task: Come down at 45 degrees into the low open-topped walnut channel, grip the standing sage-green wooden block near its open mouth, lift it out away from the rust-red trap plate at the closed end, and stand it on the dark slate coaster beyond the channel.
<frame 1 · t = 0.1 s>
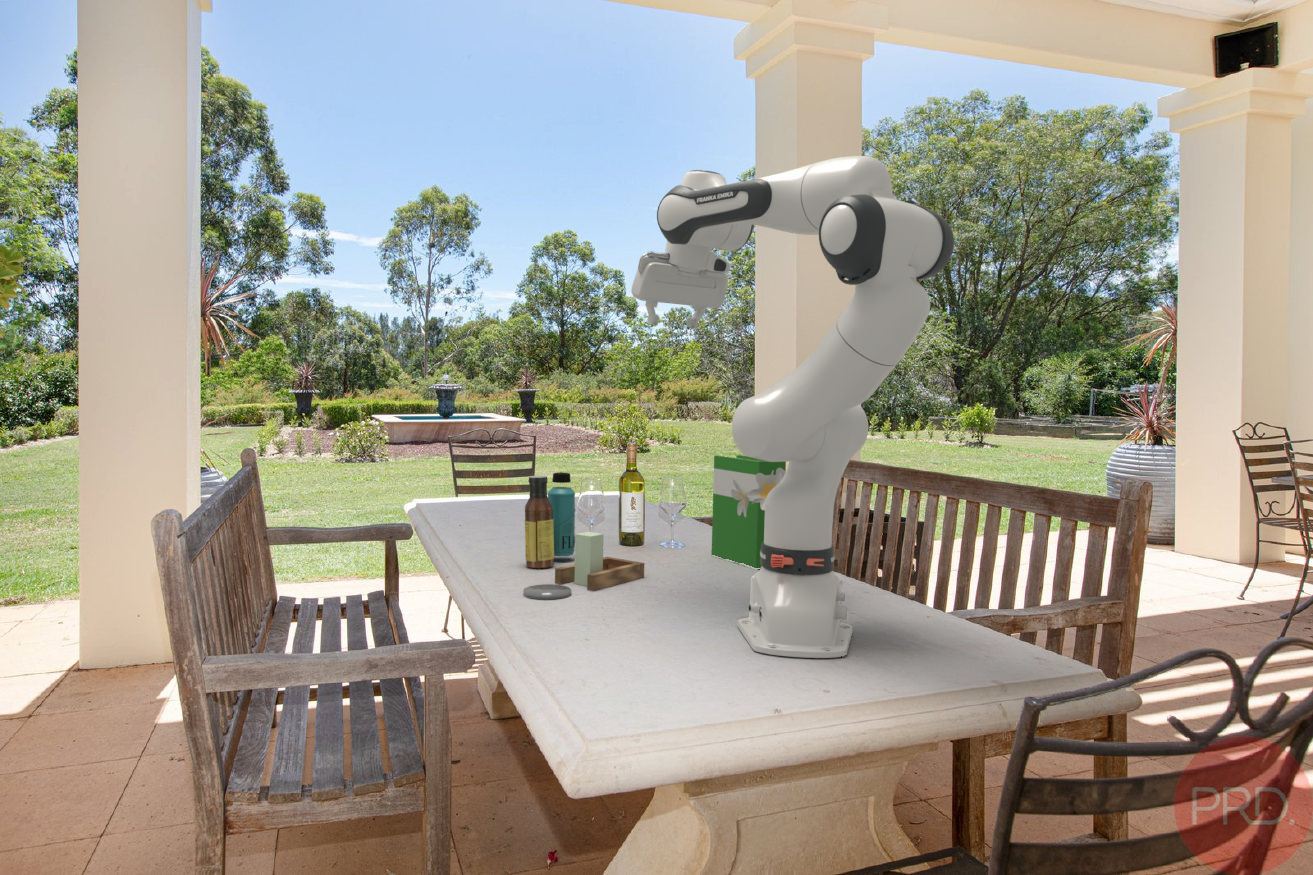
hand: (672, 325, 169), 52 cm above the table, tool tilted 20°, fingers open, 8 cm apart
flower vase: (777, 602, 160), on the table
beverage bottle: (560, 561, 194), on the table
block: (588, 583, 171), on the table
sauce bottle: (538, 567, 186), on the table
coaster: (547, 594, 161), on the table
trap plate: (613, 576, 178), resting in channel
green gift bag: (745, 562, 197), on the table
channel: (598, 580, 174), on the table
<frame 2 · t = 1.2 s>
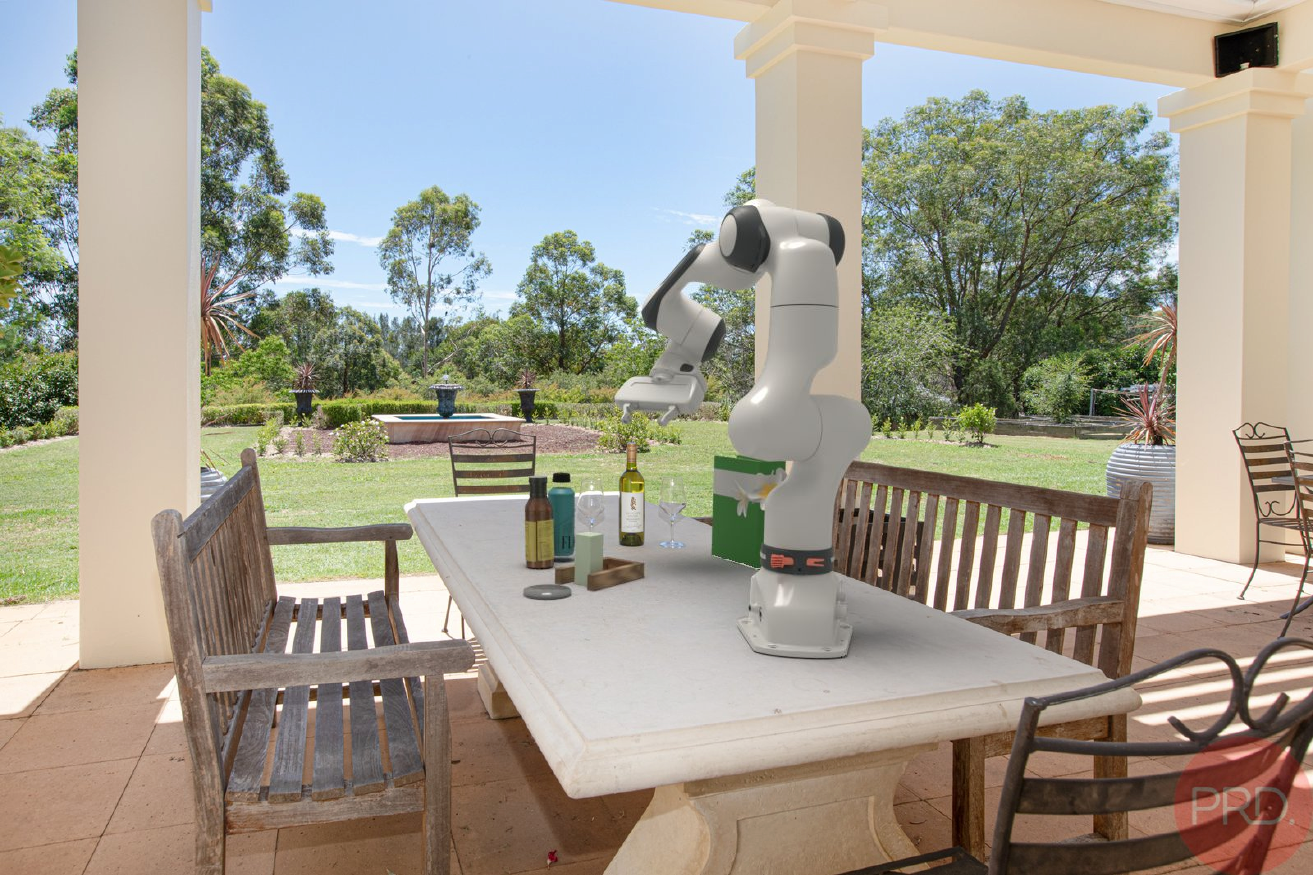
hand: (642, 423, 177), 32 cm above the table, tool tilted 45°, fingers open, 8 cm apart
nothing on the table moved.
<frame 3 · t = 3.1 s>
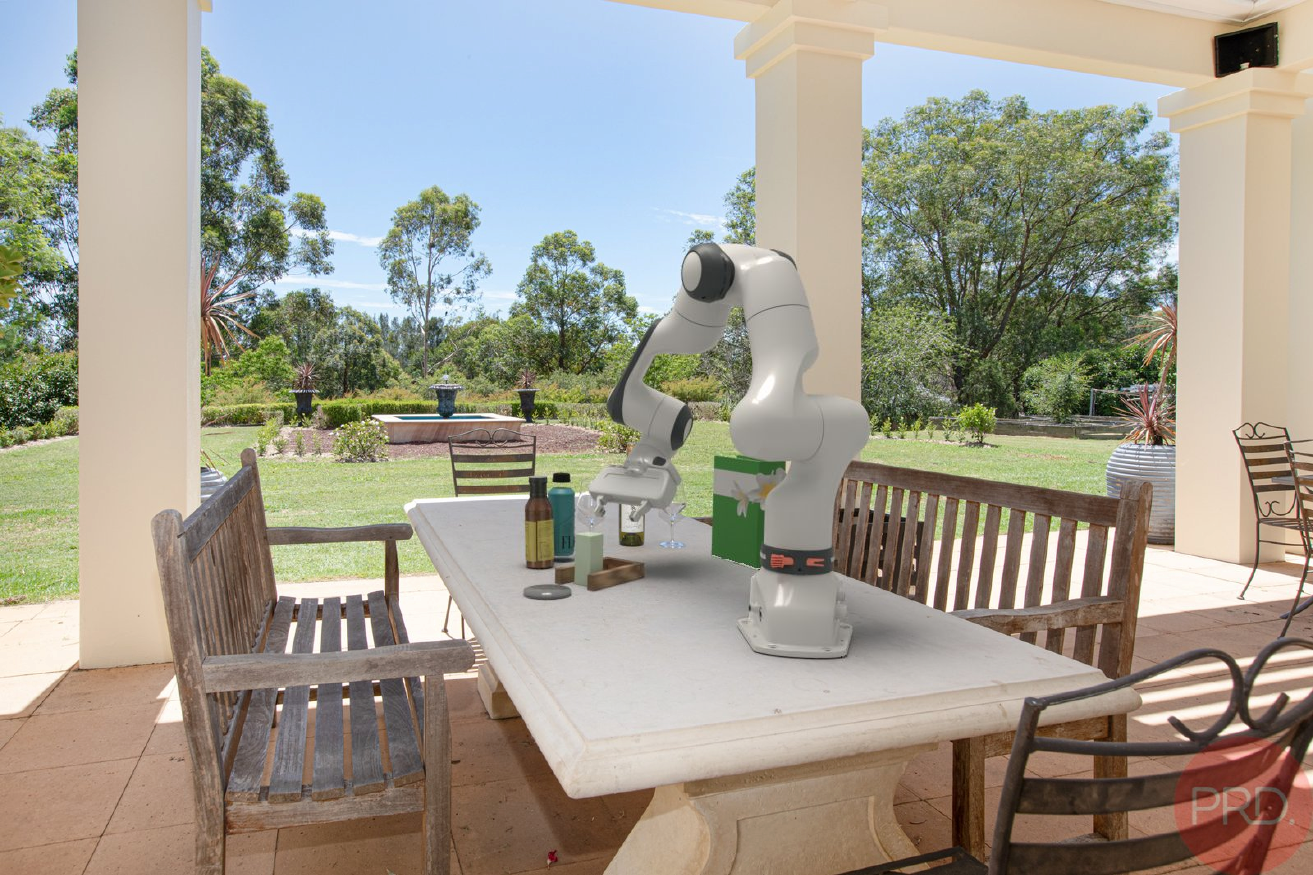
hand: (614, 517, 177), 12 cm above the table, tool tilted 45°, fingers open, 8 cm apart
nothing on the table moved.
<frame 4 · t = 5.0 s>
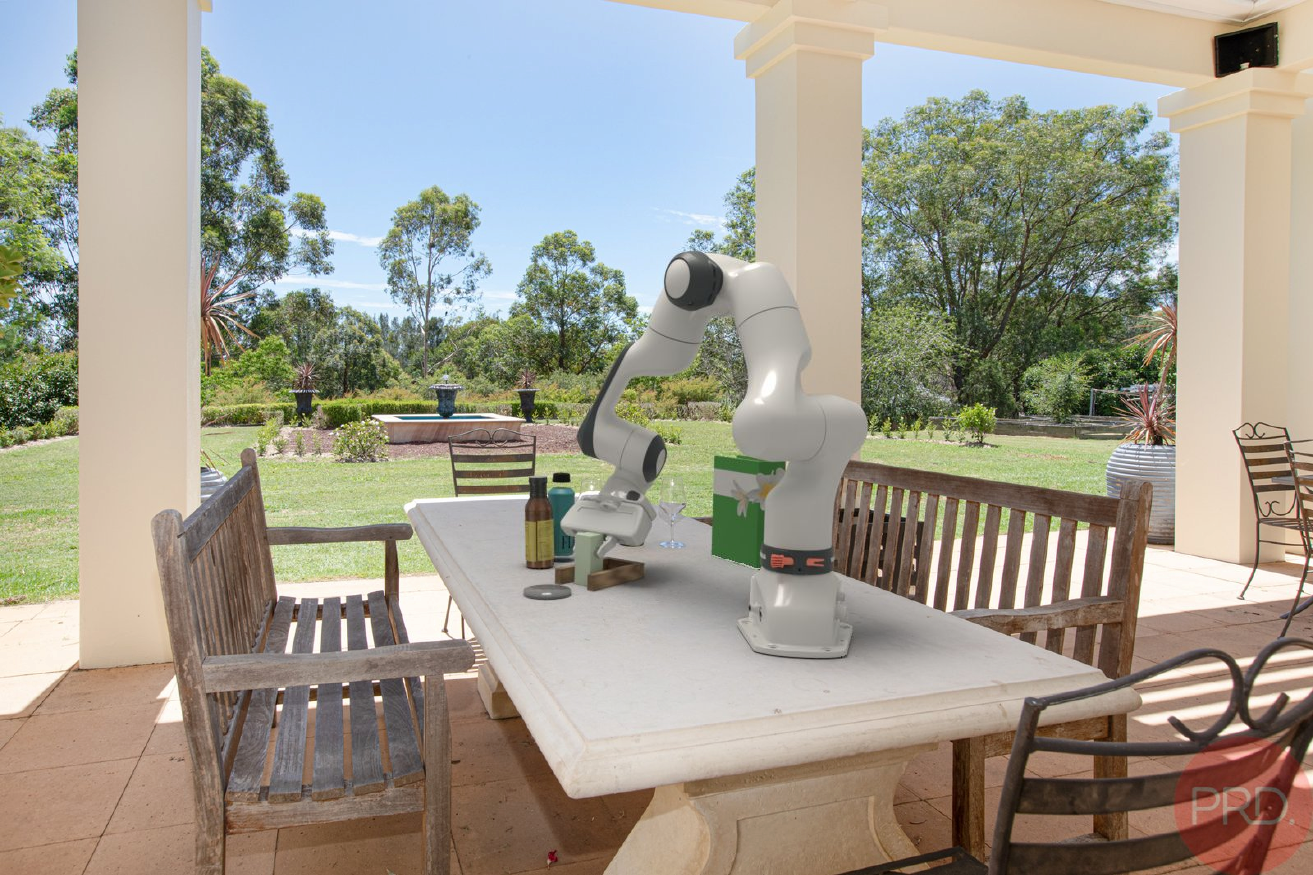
hand: (587, 554, 170), 6 cm above the table, tool tilted 45°, fingers closed on block, 4 cm apart
block: (588, 583, 171), on the table, touching gripper
everything else where it was.
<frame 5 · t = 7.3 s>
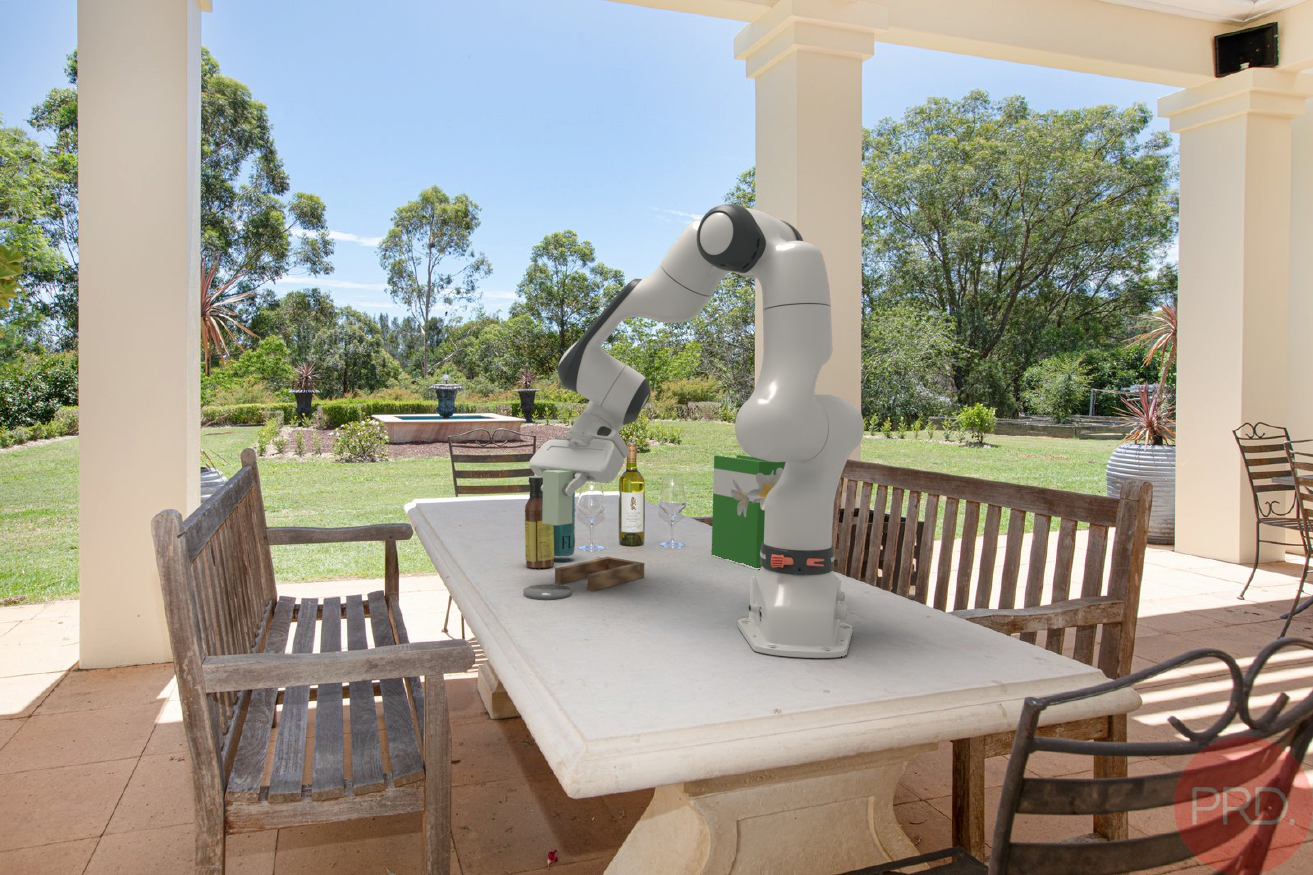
hand: (555, 492, 162), 19 cm above the table, tool tilted 45°, fingers closed on block, 4 cm apart
block: (557, 523, 163), point 13 cm above the table, touching gripper
everything else where it was.
when the fingers open (8 cm above the table, at t = 10.0 s): block drops 1 cm, resting on coaster.
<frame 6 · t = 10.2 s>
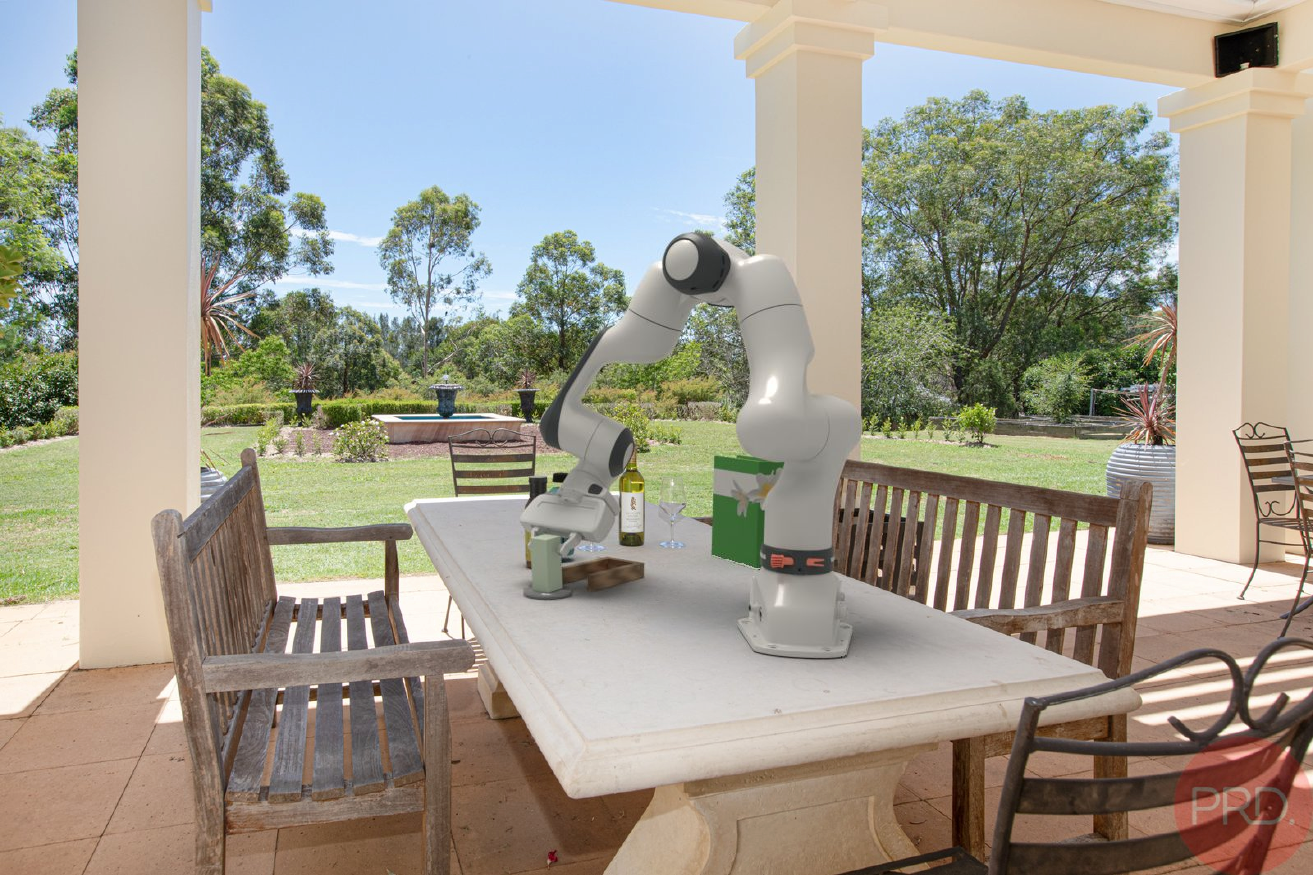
hand: (545, 551, 160), 8 cm above the table, tool tilted 45°, fingers open, 6 cm apart
block: (547, 589, 161), point 1 cm above the table, touching coaster
everything else where it was.
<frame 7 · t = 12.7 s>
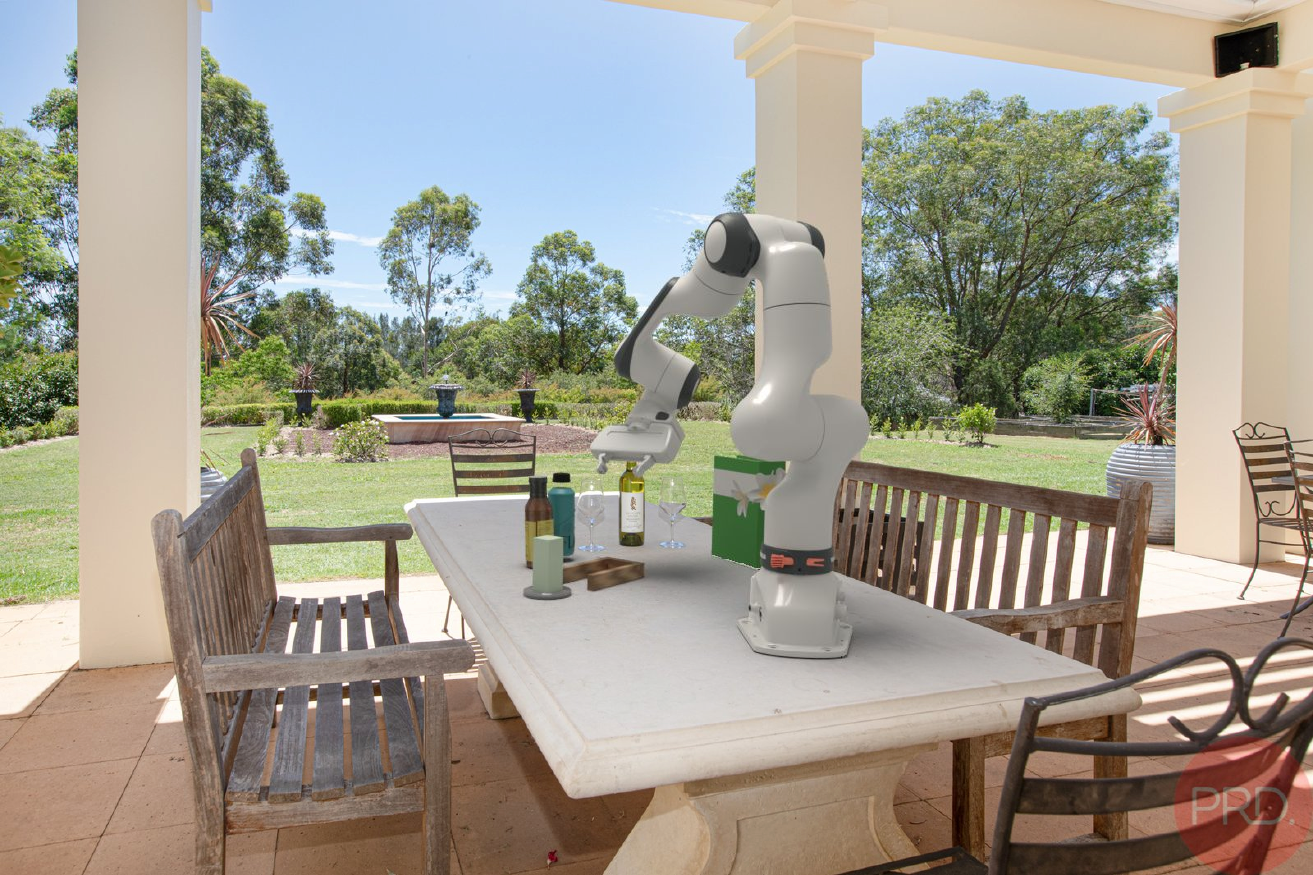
hand: (617, 473, 173), 22 cm above the table, tool tilted 45°, fingers open, 8 cm apart
nothing on the table moved.
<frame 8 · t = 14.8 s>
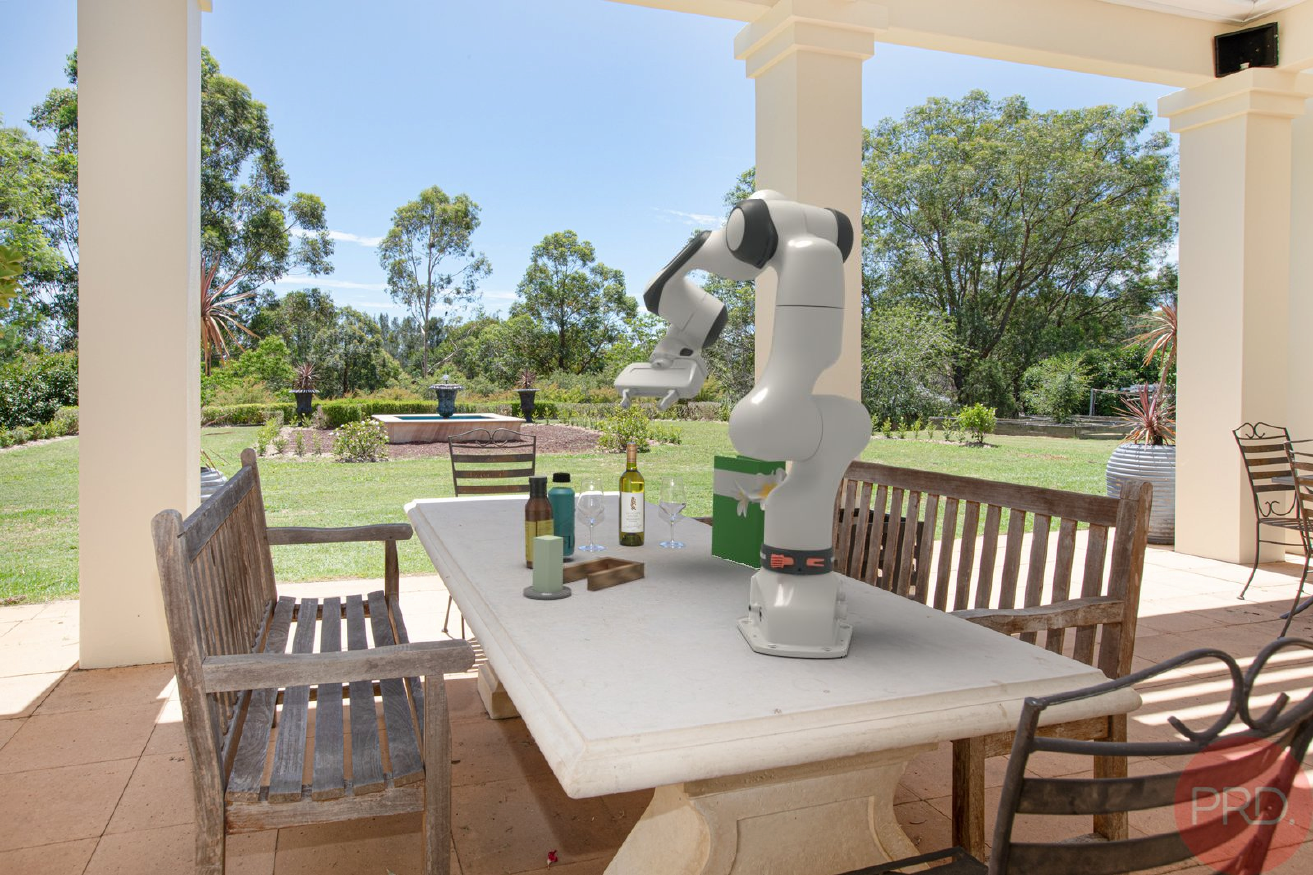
hand: (641, 408, 175), 35 cm above the table, tool tilted 45°, fingers open, 8 cm apart
nothing on the table moved.
at the end: block 0.1 cm from the coaster (horizontally); block tilted 0°; the gripper is holding nothing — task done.
